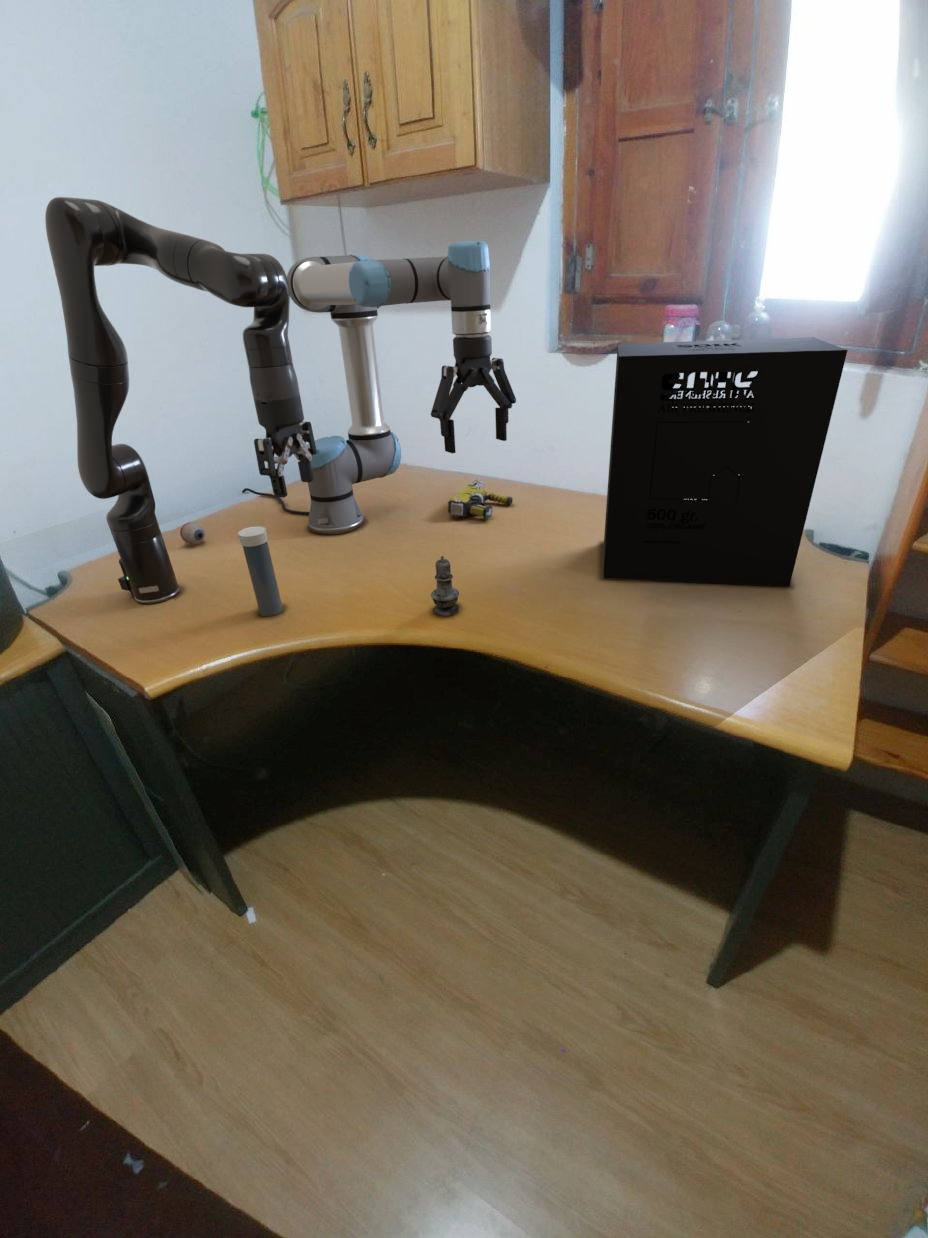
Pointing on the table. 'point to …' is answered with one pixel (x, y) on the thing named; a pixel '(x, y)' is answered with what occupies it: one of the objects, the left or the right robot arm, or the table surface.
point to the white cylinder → (253, 536)
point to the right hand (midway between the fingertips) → (476, 445)
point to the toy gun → (475, 501)
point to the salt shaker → (444, 590)
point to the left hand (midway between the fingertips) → (294, 488)
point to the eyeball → (192, 533)
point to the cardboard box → (716, 458)
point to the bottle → (263, 579)
